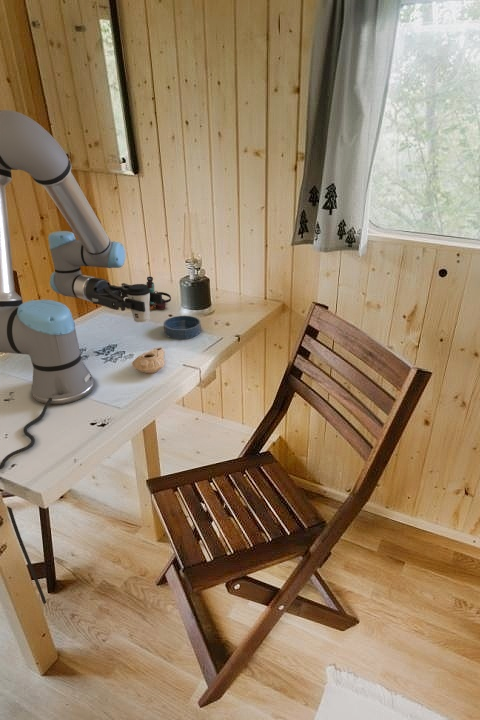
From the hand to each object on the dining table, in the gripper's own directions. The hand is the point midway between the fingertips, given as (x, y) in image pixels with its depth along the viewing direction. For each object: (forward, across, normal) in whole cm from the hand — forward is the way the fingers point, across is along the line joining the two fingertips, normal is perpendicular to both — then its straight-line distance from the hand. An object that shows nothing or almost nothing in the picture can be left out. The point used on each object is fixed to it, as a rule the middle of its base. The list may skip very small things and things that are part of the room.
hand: (152, 303), depth 135 cm
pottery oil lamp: (+5, +8, -16) cm, 19 cm away
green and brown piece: (-25, -31, -16) cm, 43 cm away
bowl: (-3, -16, -16) cm, 23 cm away
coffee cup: (-5, 0, -6) cm, 8 cm away
